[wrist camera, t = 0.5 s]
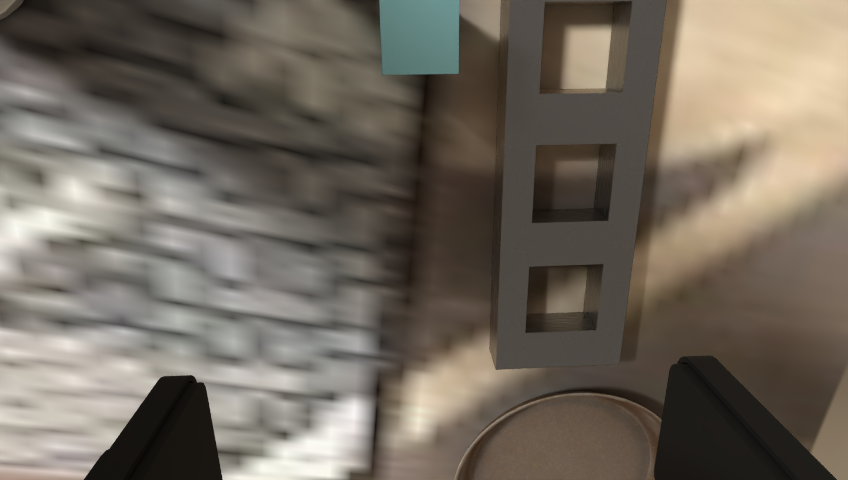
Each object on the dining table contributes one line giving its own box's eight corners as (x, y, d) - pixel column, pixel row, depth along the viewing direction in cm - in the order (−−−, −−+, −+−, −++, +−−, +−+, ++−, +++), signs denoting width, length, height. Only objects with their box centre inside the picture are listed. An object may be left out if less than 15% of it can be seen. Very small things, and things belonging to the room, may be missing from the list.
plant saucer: (525, 576, 56) (533, 608, 53) (405, 451, 50) (405, 478, 47) (703, 476, 53) (723, 504, 50) (599, 328, 46) (614, 349, 43)
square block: (384, 65, 38) (382, 74, 28) (382, 3, 36) (379, -10, 27) (441, 64, 38) (458, 73, 29) (441, 2, 37) (459, -11, 27)
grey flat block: (489, 349, 46) (495, 369, 43) (502, -49, 36) (512, -56, 33) (605, 344, 47) (619, 364, 44) (651, -50, 36) (674, -57, 33)
